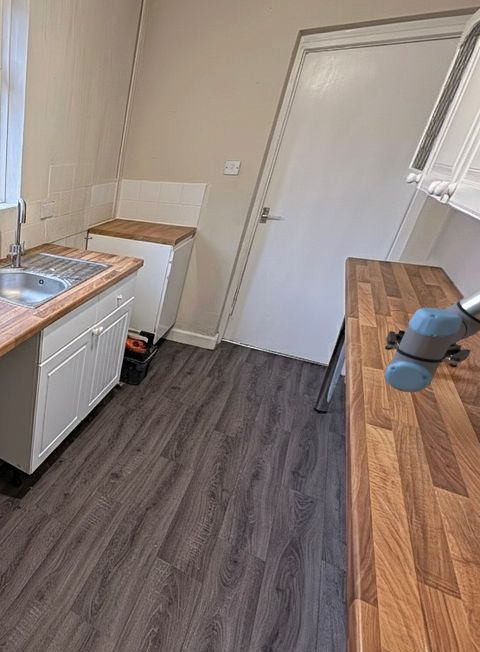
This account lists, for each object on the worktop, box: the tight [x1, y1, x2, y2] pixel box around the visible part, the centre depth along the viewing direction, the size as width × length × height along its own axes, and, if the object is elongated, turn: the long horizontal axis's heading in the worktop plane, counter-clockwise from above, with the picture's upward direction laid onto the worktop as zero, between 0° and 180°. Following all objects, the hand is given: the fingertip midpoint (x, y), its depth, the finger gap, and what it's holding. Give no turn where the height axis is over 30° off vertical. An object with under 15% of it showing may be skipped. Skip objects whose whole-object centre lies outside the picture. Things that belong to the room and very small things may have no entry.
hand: (430, 337), depth 118 cm, fingers closed on cupcake, 8 cm apart
